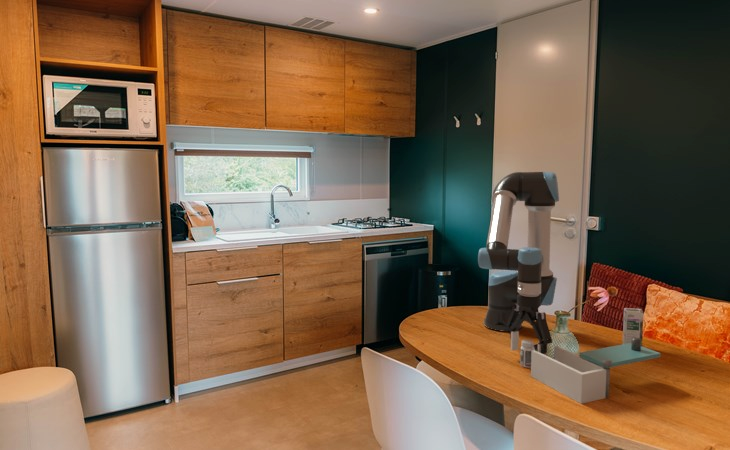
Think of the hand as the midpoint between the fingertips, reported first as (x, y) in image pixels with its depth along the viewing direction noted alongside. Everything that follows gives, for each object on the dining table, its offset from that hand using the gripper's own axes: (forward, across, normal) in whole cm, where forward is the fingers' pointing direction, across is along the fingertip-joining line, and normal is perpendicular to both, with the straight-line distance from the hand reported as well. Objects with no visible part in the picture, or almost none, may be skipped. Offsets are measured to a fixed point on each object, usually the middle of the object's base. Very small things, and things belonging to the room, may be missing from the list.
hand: (527, 356), depth 175 cm
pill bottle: (+4, 0, 0) cm, 4 cm away
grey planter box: (+4, +18, 0) cm, 18 cm away
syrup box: (+3, +2, +46) cm, 46 cm away
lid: (-5, +24, +15) cm, 29 cm away
